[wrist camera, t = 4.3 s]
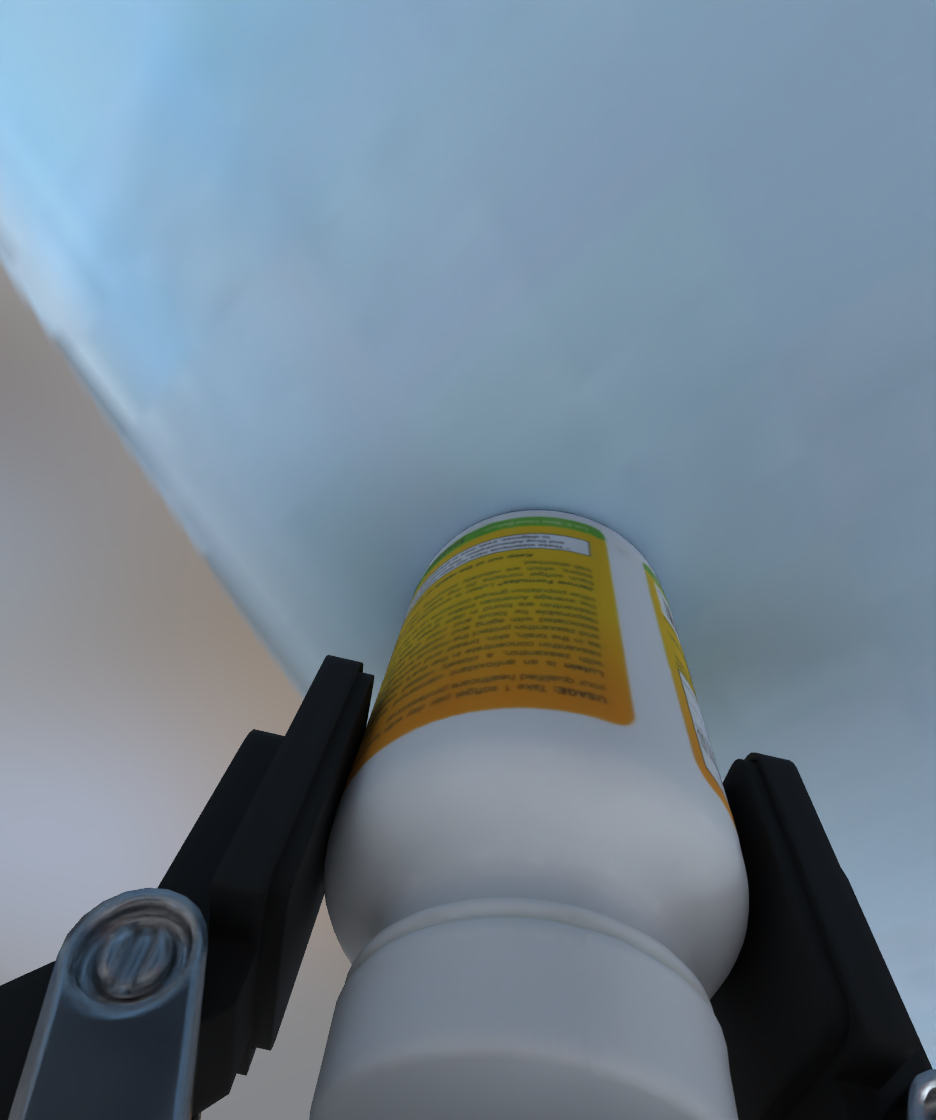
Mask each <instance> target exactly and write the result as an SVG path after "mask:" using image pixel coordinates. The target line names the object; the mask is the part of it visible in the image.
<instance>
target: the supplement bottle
mask: <svg viewBox="0 0 936 1120" xmlns="http://www.w3.org/2000/svg"><path fill="white" fill-rule="evenodd" d="M324 892H325V899H326V905H327V909H328V913H329V916H330V920H331V923H332V926H333V929H334V932H335V934H336V936H337V939H338V941H339V943H340V945H341V947H342V949H343V951H344V953H345V954H346V956H347V957H348V959H349V960H350V962H351V964H352V966H351V968H350V970H349V972H348V975H347V978H346V981H345V985H344V987H343V989H342V991H341V993H340V995H339V997H338V1000H337V1002H336V1006H335V1011H334V1014H333V1019H332V1023H331V1027H330V1031H329V1035H328V1040H327V1044H326V1048H325V1053H324V1057H323V1061H322V1065H321V1069H320V1074H319V1077H318V1081H317V1085H316V1090H315V1093H314V1097H313V1101H312V1106H311V1111H310V1120H738V1114H737V1109H736V1103H735V1097H734V1092H733V1086H732V1081H731V1076H730V1069H729V1060H728V1051H727V1045H726V1042H725V1039H724V1035H723V1032H722V1028H721V1026H720V1024H719V1022H718V1020H717V1018H716V1017H715V1015H714V1012H713V1008H712V1005H711V1003H710V999H711V998H712V997H713V995H714V994H715V993H716V992H717V990H718V989H719V988H720V986H721V985H722V983H723V982H724V981H725V979H726V978H727V976H728V975H729V973H730V972H731V970H732V968H733V966H734V964H735V962H736V960H737V958H738V955H739V953H740V951H741V948H742V946H743V943H744V939H745V935H746V931H747V924H748V914H749V889H748V880H747V874H746V868H745V864H744V860H743V856H742V852H741V848H740V842H739V837H738V833H737V830H736V826H735V823H734V819H733V816H732V813H731V810H730V807H729V804H728V800H727V797H726V794H725V790H724V787H723V784H722V780H721V777H720V774H719V771H718V768H717V764H716V761H715V758H714V755H713V751H712V748H711V745H710V741H709V738H708V735H707V731H706V728H705V724H704V721H703V717H702V714H701V711H700V708H699V704H698V701H697V698H696V694H695V691H694V687H693V684H692V680H691V677H690V674H689V670H688V667H687V663H686V660H685V657H684V653H683V650H682V646H681V643H680V639H679V636H678V633H677V630H676V626H675V623H674V620H673V616H672V613H671V610H670V607H669V604H668V601H667V598H666V596H665V594H664V591H663V589H662V586H661V584H660V582H659V580H658V578H657V576H656V574H655V572H654V571H653V569H652V568H651V566H650V565H649V563H648V562H647V561H646V559H645V558H644V557H643V555H642V554H641V553H640V552H639V551H638V550H637V549H636V548H635V547H634V546H633V545H632V544H630V543H629V542H628V541H627V540H626V539H624V538H623V537H622V536H620V535H619V534H618V533H616V532H614V531H613V530H611V529H609V528H608V527H606V526H603V525H601V524H599V523H597V522H595V521H592V520H590V519H587V518H584V517H581V516H577V515H574V514H569V513H564V512H558V511H547V510H526V511H517V512H511V513H505V514H501V515H498V516H494V517H491V518H489V519H486V520H483V521H481V522H479V523H477V524H475V525H473V526H471V527H469V528H468V529H466V530H465V531H463V532H461V533H460V534H459V535H457V536H456V537H455V538H453V539H452V540H451V541H450V542H449V543H447V544H446V545H445V546H444V547H443V548H442V549H441V550H440V551H439V552H438V553H437V555H436V556H435V557H434V558H433V559H432V561H431V562H430V564H429V565H428V567H427V568H426V570H425V572H424V574H423V575H422V577H421V579H420V581H419V584H418V586H417V588H416V590H415V592H414V595H413V598H412V600H411V603H410V606H409V608H408V611H407V614H406V617H405V620H404V622H403V625H402V629H401V631H400V634H399V637H398V640H397V643H396V645H395V648H394V651H393V654H392V657H391V660H390V662H389V665H388V668H387V671H386V674H385V677H384V680H383V682H382V685H381V688H380V691H379V693H378V696H377V699H376V702H375V705H374V707H373V710H372V713H371V716H370V719H369V721H368V724H367V727H366V730H365V733H364V735H363V738H362V741H361V744H360V746H359V749H358V752H357V754H356V757H355V760H354V762H353V765H352V768H351V770H350V773H349V776H348V779H347V782H346V784H345V787H344V790H343V793H342V796H341V798H340V801H339V804H338V807H337V810H336V814H335V818H334V821H333V825H332V828H331V832H330V836H329V839H328V845H327V852H326V858H325V865H324Z"/></svg>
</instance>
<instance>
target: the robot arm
mask: <svg viewBox="0 0 936 1120" xmlns="http://www.w3.org/2000/svg"><path fill="white" fill-rule="evenodd" d="M373 683H374V675H371V674H366V673H363V663H362V662H357V661H353V660H348V659H344V658H340V657H335V656H331V655H327V656H326V658H325V659H324V661H323V663H322V665H321V667H320V669H319V671H318V673H317V675H316V677H315V679H314V681H313V683H312V684H311V686H310V688H309V690H308V692H307V694H306V696H305V698H304V700H303V702H302V704H301V706H300V708H299V710H298V712H297V714H296V716H295V718H294V720H293V722H292V724H291V725H290V727H289V729H288V731H287V733H286V735H285V736H281V735H277V734H273V733H268V732H264V731H259V730H255V729H253V730H252V731H251V732H250V733H249V734H248V735H247V737H246V738H245V740H244V742H243V743H242V745H241V747H240V748H239V750H238V752H237V753H236V755H235V757H234V758H233V760H232V762H231V764H230V765H229V767H228V769H227V770H226V772H225V774H224V775H223V777H222V779H221V781H220V782H219V784H218V786H217V787H216V789H215V791H214V793H213V794H212V796H211V798H210V799H209V801H208V803H207V805H206V806H205V808H204V810H203V811H202V813H201V815H200V817H199V818H198V820H197V822H196V823H195V825H194V827H193V828H192V830H191V832H190V833H189V835H188V837H187V839H186V840H185V842H184V844H183V845H182V847H181V849H180V851H179V852H178V854H177V856H176V857H175V859H174V861H173V863H172V864H171V866H170V868H169V870H168V871H167V873H166V875H165V876H164V878H163V880H162V881H161V883H160V885H159V886H158V888H144V889H138V890H133V891H127V892H124V893H121V894H119V895H117V896H115V897H113V898H110V899H108V900H106V901H103V902H102V903H100V904H99V905H98V906H96V907H95V908H93V909H92V910H91V911H90V912H88V913H87V914H85V915H84V916H83V917H82V918H81V919H80V920H79V921H78V923H77V924H76V925H75V926H74V928H72V930H71V931H70V932H69V933H68V934H67V936H66V938H65V940H64V943H63V945H62V947H61V949H60V951H59V953H58V956H57V958H56V961H54V962H51V963H49V964H47V965H45V966H43V967H41V968H38V969H36V970H34V971H32V972H30V973H27V974H25V975H23V976H21V977H19V978H17V979H14V980H12V981H10V982H8V983H5V984H3V985H1V986H0V1120H200V1118H201V1112H202V1111H203V1110H205V1109H206V1108H208V1107H209V1106H211V1105H212V1104H214V1103H216V1102H217V1101H219V1100H220V1099H222V1098H223V1097H225V1096H226V1095H228V1094H229V1092H230V1090H231V1087H232V1084H233V1081H234V1079H235V1076H236V1073H238V1074H242V1075H247V1072H248V1070H249V1066H250V1064H251V1061H252V1059H253V1056H254V1053H255V1050H256V1047H257V1048H262V1049H266V1050H271V1049H272V1047H273V1044H274V1042H275V1040H276V1037H277V1034H278V1031H279V1028H280V1025H281V1022H282V1019H283V1016H284V1013H285V1010H286V1007H287V1004H288V1001H289V998H290V995H291V992H292V989H293V986H294V983H295V980H296V977H297V974H298V971H299V968H300V965H301V962H302V959H303V956H304V953H305V950H306V947H307V944H308V941H309V938H310V935H311V932H312V929H313V926H314V923H315V920H316V917H317V915H318V912H319V908H320V905H321V903H322V899H323V897H324V894H325V892H324V865H325V858H326V852H327V845H328V839H329V836H330V832H331V828H332V825H333V821H334V818H335V814H336V810H337V807H338V804H339V801H340V798H341V796H342V793H343V790H344V787H345V784H346V782H347V779H348V776H349V773H350V770H351V768H352V765H353V762H354V760H355V757H356V754H357V752H358V749H359V746H360V744H361V741H362V738H363V735H364V733H365V730H366V725H367V719H368V713H369V707H370V701H371V695H372V689H373ZM723 787H724V790H725V794H726V797H727V800H728V804H729V807H730V810H731V813H732V816H733V819H734V823H735V826H736V830H737V833H738V837H739V842H740V848H741V852H742V856H743V860H744V864H745V868H746V874H747V880H748V889H749V914H748V924H747V931H746V935H745V939H744V943H743V946H742V948H741V951H740V953H739V955H738V958H737V960H736V962H735V964H734V966H733V968H732V970H731V972H730V973H729V975H728V976H727V978H726V979H725V981H724V982H723V983H722V985H721V986H720V988H719V989H718V990H717V992H716V993H715V994H714V995H713V997H712V998H711V999H710V1003H711V1005H712V1008H713V1012H714V1015H715V1017H716V1018H717V1020H718V1022H719V1024H720V1026H721V1028H722V1032H723V1035H724V1039H725V1042H726V1045H727V1051H728V1060H729V1069H730V1076H731V1081H732V1086H733V1092H734V1097H735V1103H736V1109H737V1114H738V1120H936V1070H935V1069H932V1067H931V1064H930V1062H929V1060H928V1058H927V1055H926V1053H925V1051H924V1049H923V1046H922V1044H921V1042H920V1040H919V1037H918V1035H917V1033H916V1031H915V1028H914V1026H913V1024H912V1022H911V1019H910V1017H909V1015H908V1013H907V1010H906V1008H905V1006H904V1004H903V1001H902V999H901V997H900V995H899V992H898V990H897V988H896V986H895V983H894V981H893V979H892V977H891V975H890V972H889V970H888V968H887V966H886V963H885V961H884V959H883V957H882V954H881V952H880V950H879V948H878V945H877V943H876V941H875V939H874V936H873V934H872V932H871V930H870V927H869V925H868V923H867V921H866V918H865V916H864V914H863V912H862V909H861V907H860V905H859V903H858V900H857V898H856V896H855V894H854V891H853V889H852V887H851V885H850V882H849V880H848V878H847V877H846V875H845V873H844V872H843V870H842V869H841V867H840V865H839V862H838V860H837V858H836V856H835V853H834V851H833V849H832V847H831V844H830V842H829V840H828V838H827V835H826V833H825V831H824V829H823V826H822V824H821V822H820V820H819V817H818V815H817V813H816V810H815V808H814V806H813V804H812V801H811V799H810V797H809V795H808V792H807V790H806V788H805V786H804V783H803V781H802V779H801V777H800V774H799V772H798V770H797V768H796V766H795V765H794V763H793V762H791V761H789V760H785V759H781V758H776V757H772V756H768V755H763V754H759V753H750V754H749V755H748V756H747V757H746V758H745V760H742V759H737V760H735V761H734V762H733V764H732V766H731V768H730V770H729V772H728V774H727V776H726V778H725V780H724V782H723Z"/></svg>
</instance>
